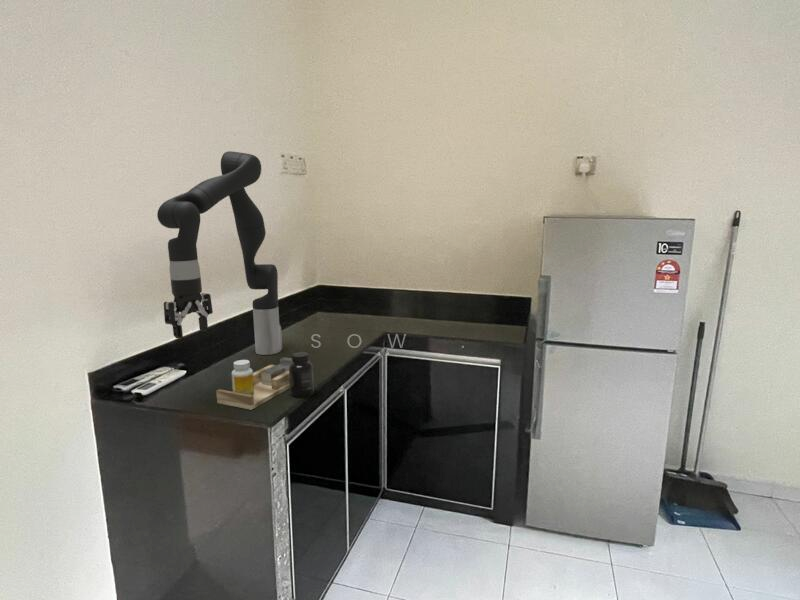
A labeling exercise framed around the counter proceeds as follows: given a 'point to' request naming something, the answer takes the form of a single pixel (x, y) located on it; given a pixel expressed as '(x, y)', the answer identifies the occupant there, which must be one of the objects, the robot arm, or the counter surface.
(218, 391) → the cradle
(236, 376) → the supplement bottle
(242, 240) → the robot arm
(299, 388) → the supplement bottle
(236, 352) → the counter surface
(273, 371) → the shaft
